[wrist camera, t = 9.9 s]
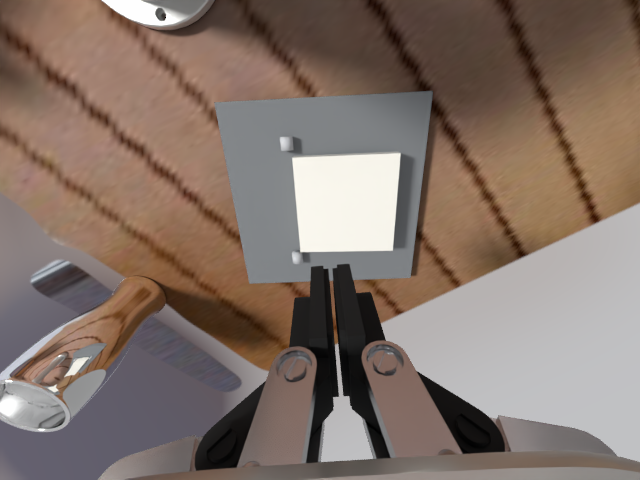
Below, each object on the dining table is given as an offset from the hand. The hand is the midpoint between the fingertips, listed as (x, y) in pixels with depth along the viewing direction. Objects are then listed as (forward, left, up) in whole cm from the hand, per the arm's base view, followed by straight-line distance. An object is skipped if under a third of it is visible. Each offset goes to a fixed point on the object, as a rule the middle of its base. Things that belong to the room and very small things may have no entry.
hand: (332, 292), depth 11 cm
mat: (+1, 0, -19) cm, 19 cm away
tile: (+1, -3, -17) cm, 18 cm away
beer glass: (+13, -25, -19) cm, 34 cm away
